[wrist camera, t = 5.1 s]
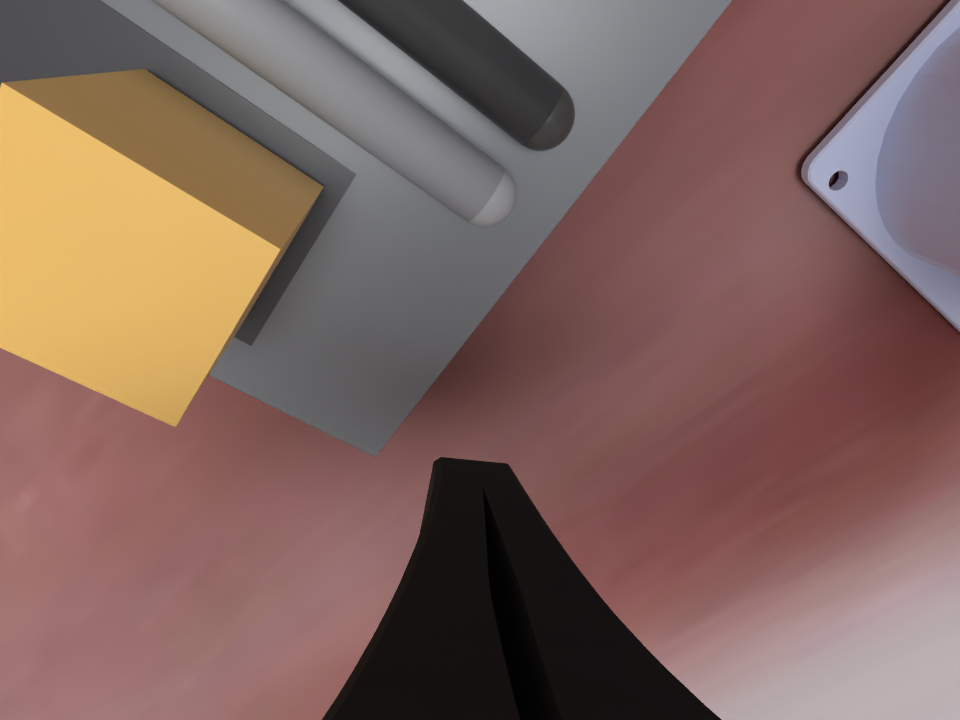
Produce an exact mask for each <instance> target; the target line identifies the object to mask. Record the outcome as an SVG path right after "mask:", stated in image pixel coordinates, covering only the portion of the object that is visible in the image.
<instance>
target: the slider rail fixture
mask: <svg viewBox="0 0 960 720" xmlns="http://www.w3.org/2000/svg"><path fill="white" fill-rule="evenodd" d="M731 1H732V0H0V87H1V84H2V82H13V81H23V80H34V79H45V78H55V77H66V76H76V75H87V74H97V73H108V72H119V71H129V70H140V69H146V70H147V71H149V72H150V73H152V74H153V75H155V76H156V77H158V78H159V79H161V80H162V81H164V82H165V83H167V84H168V85H170V86H171V87H173V88H174V89H176V90H178V91H179V92H181V93H182V94H184V95H185V96H187V97H188V98H190V99H191V100H193V101H194V102H196V103H197V104H199V105H200V106H202V107H203V108H205V109H206V110H208V111H210V112H211V113H213V114H214V115H216V116H217V117H219V118H220V119H222V120H223V121H225V122H226V123H228V124H229V125H231V126H232V127H234V128H235V129H237V130H238V131H240V132H241V133H243V134H245V135H246V136H248V137H249V138H251V139H252V140H254V141H255V142H257V143H258V144H260V145H261V146H263V147H264V148H266V149H267V150H269V151H270V152H272V153H273V154H275V155H276V156H278V157H280V158H281V159H283V160H284V161H286V162H287V163H289V164H290V165H292V166H293V167H295V168H296V169H298V170H299V171H301V172H302V173H304V174H305V175H307V176H308V177H310V178H312V179H313V180H315V181H316V182H318V183H319V184H321V185H322V186H324V188H323V189H322V191H321V193H320V195H319V196H318V198H317V200H316V201H315V203H314V205H313V206H312V208H311V210H310V211H309V213H308V215H307V216H306V218H305V220H304V221H303V223H302V225H301V226H300V228H299V230H298V231H297V233H296V235H295V236H294V238H293V240H292V242H291V243H290V245H289V247H288V248H287V250H286V252H285V253H284V255H283V257H282V258H281V260H280V262H279V263H278V265H277V267H276V268H275V270H274V272H273V273H272V275H271V277H270V278H269V280H268V282H267V283H266V285H265V287H264V288H263V290H262V292H261V294H260V295H259V297H258V299H257V300H256V302H255V304H254V305H253V307H252V309H251V310H250V312H249V314H248V315H247V317H246V319H245V320H244V322H243V324H242V325H241V327H240V328H239V330H238V331H237V333H236V334H235V336H234V338H233V339H232V341H231V342H230V344H229V345H228V347H227V348H226V350H225V351H224V353H223V355H222V356H221V358H220V359H219V361H218V362H217V364H216V365H215V367H214V368H213V370H212V372H211V373H210V376H212V377H214V378H216V379H218V380H220V381H222V382H224V383H226V384H228V385H230V386H232V387H234V388H236V389H238V390H240V391H242V392H244V393H246V394H248V395H250V396H252V397H254V398H256V399H258V400H260V401H262V402H264V403H266V404H268V405H270V406H272V407H274V408H276V409H278V410H280V411H282V412H284V413H286V414H288V415H290V416H293V417H295V418H297V419H299V420H301V421H303V422H305V423H307V424H309V425H311V426H313V427H315V428H317V429H319V430H321V431H323V432H325V433H327V434H329V435H331V436H333V437H335V438H337V439H339V440H341V441H343V442H345V443H347V444H349V445H351V446H353V447H355V448H357V449H359V450H361V451H363V452H365V453H367V454H369V455H371V456H373V457H376V455H377V454H378V453H379V452H380V450H381V449H382V448H383V446H384V445H385V444H386V443H387V441H388V440H389V439H390V438H391V436H392V435H393V434H394V432H395V431H396V430H397V429H398V427H399V426H400V425H401V423H402V422H403V421H404V420H405V418H406V417H407V416H408V414H409V413H410V412H411V411H412V409H413V408H414V407H415V406H416V404H417V403H418V402H419V400H420V399H421V398H422V397H423V395H424V394H425V393H426V391H427V390H428V389H429V388H430V386H431V385H432V384H433V382H434V381H435V380H436V379H437V377H438V376H439V375H440V374H441V372H442V371H443V370H444V368H445V367H446V366H447V365H448V363H449V362H450V361H451V359H452V358H453V357H454V356H455V354H456V353H457V352H458V350H459V349H460V348H461V347H462V345H463V344H464V343H465V342H466V340H467V339H468V338H469V336H470V335H471V334H472V333H473V331H474V330H475V329H476V327H477V326H478V325H479V324H480V322H481V321H482V320H483V318H484V317H485V316H486V315H487V313H488V312H489V311H490V310H491V308H492V307H493V306H494V304H495V303H496V302H497V301H498V299H499V298H500V297H501V295H502V294H503V293H504V292H505V290H506V289H507V288H508V286H509V285H510V284H511V283H512V281H513V280H514V279H515V278H516V276H517V275H518V274H519V272H520V271H521V270H522V269H523V267H524V266H525V265H526V263H527V262H528V261H529V260H530V258H531V257H532V256H533V254H534V253H535V252H536V251H537V249H538V248H539V247H540V246H541V244H542V243H543V242H544V240H545V239H546V238H547V237H548V235H549V234H550V233H551V231H552V230H553V229H554V228H555V226H556V225H557V224H558V222H559V221H560V220H561V219H562V217H563V216H564V215H565V214H566V212H567V211H568V210H569V208H570V207H571V206H572V205H573V203H574V202H575V201H576V199H577V198H578V197H579V196H580V194H581V193H582V192H583V190H584V189H585V188H586V187H587V185H588V184H589V183H590V182H591V180H592V179H593V178H594V176H595V175H596V174H597V173H598V171H599V170H600V169H601V167H602V166H603V165H604V164H605V162H606V161H607V160H608V158H609V157H610V156H611V155H612V153H613V152H614V151H615V150H616V148H617V147H618V146H619V144H620V143H621V142H622V141H623V139H624V138H625V137H626V135H627V134H628V133H629V132H630V130H631V129H632V128H633V127H634V125H635V124H636V123H637V121H638V120H639V119H640V118H641V116H642V115H643V114H644V112H645V111H646V110H647V109H648V107H649V106H650V105H651V103H652V102H653V101H654V100H655V98H656V97H657V96H658V95H659V93H660V92H661V91H662V89H663V88H664V87H665V86H666V84H667V83H668V82H669V80H670V79H671V78H672V77H673V75H674V74H675V73H676V71H677V70H678V69H679V68H680V66H681V65H682V64H683V63H684V61H685V60H686V59H687V57H688V56H689V55H690V54H691V52H692V51H693V50H694V48H695V47H696V46H697V45H698V43H699V42H700V41H701V39H702V38H703V37H704V36H705V34H706V33H707V32H708V31H709V29H710V28H711V27H712V25H713V24H714V23H715V22H716V20H717V19H718V18H719V16H720V15H721V14H722V13H723V11H724V10H725V9H726V7H727V6H728V5H729V4H730V2H731Z"/></svg>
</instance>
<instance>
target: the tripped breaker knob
mask: <svg viewBox="0 0 960 720" xmlns="http://www.w3.org/2000/svg"><path fill="white" fill-rule="evenodd" d="M323 188H324V186H322V185H321V184H319V183H318V182H316V181H315V180H313V179H312V178H310V177H308V176H307V175H305V174H304V173H302V172H301V171H299V170H298V169H296V168H295V167H293V166H292V165H290V164H289V163H287V162H286V161H284V160H283V159H281V158H280V157H278V156H276V155H275V154H273V153H272V152H270V151H269V150H267V149H266V148H264V147H263V146H261V145H260V144H258V143H257V142H255V141H254V140H252V139H251V138H249V137H248V136H246V135H245V134H243V133H241V132H240V131H238V130H237V129H235V128H234V127H232V126H231V125H229V124H228V123H226V122H225V121H223V120H222V119H220V118H219V117H217V116H216V115H214V114H213V113H211V112H210V111H208V110H206V109H205V108H203V107H202V106H200V105H199V104H197V103H196V102H194V101H193V100H191V99H190V98H188V97H187V96H185V95H184V94H182V93H181V92H179V91H178V90H176V89H174V88H173V87H171V86H170V85H168V84H167V83H165V82H164V81H162V80H161V79H159V78H158V77H156V76H155V75H153V74H152V73H150V72H149V71H147V70H146V69H140V70H129V71H119V72H108V73H97V74H87V75H76V76H66V77H55V78H45V79H34V80H23V81H13V82H2V84H1V87H0V348H2V349H4V350H7V351H9V352H11V353H13V354H15V355H18V356H20V357H22V358H24V359H26V360H29V361H31V362H33V363H35V364H37V365H40V366H42V367H44V368H46V369H48V370H51V371H53V372H55V373H57V374H59V375H62V376H64V377H66V378H68V379H70V380H73V381H75V382H77V383H79V384H81V385H84V386H86V387H88V388H90V389H92V390H95V391H97V392H99V393H101V394H103V395H106V396H108V397H110V398H112V399H114V400H117V401H119V402H121V403H123V404H125V405H128V406H130V407H132V408H134V409H136V410H139V411H141V412H143V413H145V414H148V415H150V416H152V417H154V418H156V419H159V420H161V421H163V422H165V423H167V424H170V425H172V426H174V427H176V426H177V424H178V423H179V421H180V420H181V418H182V416H183V415H184V413H185V412H186V410H187V409H188V407H189V406H190V404H191V403H192V401H193V399H194V398H195V396H196V395H197V393H198V392H199V390H200V389H201V387H202V386H203V384H204V382H205V381H206V379H207V378H208V376H209V375H210V373H211V372H212V370H213V368H214V367H215V365H216V364H217V362H218V361H219V359H220V358H221V356H222V355H223V353H224V351H225V350H226V348H227V347H228V345H229V344H230V342H231V341H232V339H233V338H234V336H235V334H236V333H237V331H238V330H239V328H240V327H241V325H242V324H243V322H244V320H245V319H246V317H247V315H248V314H249V312H250V310H251V309H252V307H253V305H254V304H255V302H256V300H257V299H258V297H259V295H260V294H261V292H262V290H263V288H264V287H265V285H266V283H267V282H268V280H269V278H270V277H271V275H272V273H273V272H274V270H275V268H276V267H277V265H278V263H279V262H280V260H281V258H282V257H283V255H284V253H285V252H286V250H287V248H288V247H289V245H290V243H291V242H292V240H293V238H294V236H295V235H296V233H297V231H298V230H299V228H300V226H301V225H302V223H303V221H304V220H305V218H306V216H307V215H308V213H309V211H310V210H311V208H312V206H313V205H314V203H315V201H316V200H317V198H318V196H319V195H320V193H321V191H322V189H323Z"/></svg>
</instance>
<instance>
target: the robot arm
mask: <svg viewBox="0 0 960 720" xmlns="http://www.w3.org/2000/svg"><path fill="white" fill-rule="evenodd" d="M837 171H838V172H839V177H838V180H837V182H836V183H835V184H834V185H832V186H831V187H829V179H830V178H831V176H832V175H833V174H834V173H836V172H837ZM801 175H802V179H803V180H804V182H805V183H806V184H807V185H808V186H809V187H810V188H811V189H812V190H813V191H814V192H815V193H816V194H817V195H818V196H819V197H820V198H821V199H822V200H823V201H824V202H826V203H827V204H828V205H829V206H830V207H831V208H832V209H833V210H834V211H835V212H836V213H837V214H838V215H839V216H840V217H841V218H842V219H843V220H844V221H845V222H846V223H847V224H848V225H849V226H850V227H851V228H852V229H853V230H855V231H856V232H857V233H858V234H859V235H860V236H861V237H862V238H863V239H864V240H865V241H866V242H867V243H868V244H869V245H870V246H871V247H872V248H873V249H874V250H875V251H876V252H877V253H878V254H879V255H880V256H881V257H882V258H884V259H885V260H886V261H887V262H888V263H889V264H890V265H891V266H892V267H893V268H894V269H895V270H896V271H897V272H898V273H899V274H900V275H901V276H902V277H903V278H904V279H905V280H906V281H907V282H908V283H909V284H910V285H912V286H913V287H914V288H915V289H916V290H917V291H918V292H919V293H920V294H921V295H922V296H923V297H924V298H925V299H926V300H927V301H928V302H929V303H930V304H931V305H932V306H933V307H934V308H935V309H936V310H937V311H938V312H939V313H941V314H942V315H943V316H944V317H945V318H946V319H947V320H948V321H949V322H950V323H951V324H952V325H953V326H954V327H955V328H956V329H957V330H958V331H959V332H960V0H951V1H950V2H949V3H948V4H947V5H946V6H945V7H944V8H943V9H942V11H941V12H940V13H939V14H938V15H937V16H936V17H935V18H934V19H933V20H932V21H931V23H930V24H929V25H928V26H927V27H926V28H925V29H924V30H923V31H922V32H921V33H920V35H919V36H918V37H917V38H916V39H915V40H914V41H913V42H912V43H911V44H910V45H909V47H908V48H907V49H906V50H905V51H904V52H903V53H902V54H901V55H900V56H899V57H898V59H897V60H896V61H895V62H894V63H893V64H892V65H891V66H890V67H889V68H888V69H887V71H886V72H885V73H884V74H883V75H882V76H881V77H880V78H879V79H878V80H877V81H876V82H875V84H874V85H873V86H872V87H871V88H870V89H869V90H868V91H867V92H866V93H865V94H864V96H863V97H862V98H861V99H860V100H859V101H858V102H857V103H856V104H855V105H854V106H853V108H852V109H851V110H850V111H849V112H848V113H847V114H846V115H845V116H844V117H843V118H842V120H841V121H840V122H839V123H838V124H837V125H836V126H835V127H834V128H833V129H832V130H831V132H830V133H829V134H828V135H827V136H826V137H825V138H824V139H823V140H822V141H821V142H820V143H819V145H818V146H817V147H816V148H815V149H814V150H813V151H812V152H811V153H810V154H809V155H808V157H807V158H806V160H805V161H804V163H803V166H802V169H801ZM322 720H721V719H720V718H719V717H718V716H717V715H715V714H714V713H713V712H712V711H711V710H710V709H709V708H707V707H706V706H705V705H704V704H703V703H702V702H701V701H700V700H699V699H698V698H697V697H696V696H695V695H694V694H693V693H691V692H690V691H689V690H688V689H687V688H686V687H685V686H684V685H683V684H682V683H681V682H680V681H679V680H678V679H677V678H676V677H675V676H673V675H672V674H671V673H670V672H669V671H668V670H667V669H666V668H665V667H664V666H663V665H662V664H661V663H660V662H659V661H658V660H657V659H656V658H655V657H654V656H653V655H652V654H651V653H650V652H649V651H648V650H647V649H646V647H645V646H644V645H643V644H642V643H641V642H640V641H639V640H638V639H637V638H636V637H635V636H634V634H633V633H632V632H631V631H630V630H629V629H628V628H627V627H626V626H625V625H624V624H623V623H622V621H621V620H620V619H619V618H618V617H617V616H616V615H615V614H614V612H613V611H612V610H611V609H610V608H609V607H608V605H607V604H606V603H605V602H604V601H603V599H602V598H601V597H600V596H599V594H598V593H597V592H596V591H595V589H594V588H593V587H592V586H591V584H590V583H589V582H588V581H587V579H586V578H585V577H584V575H583V574H582V573H581V571H580V570H579V569H578V567H577V566H576V565H575V563H574V562H573V561H572V559H571V558H570V557H569V555H568V554H567V552H566V551H565V550H564V548H563V547H562V545H561V544H560V543H559V541H558V540H557V538H556V537H555V536H554V534H553V533H552V531H551V530H550V528H549V527H548V525H547V524H546V522H545V521H544V519H543V518H542V516H541V515H540V513H539V512H538V510H537V509H536V507H535V506H534V504H533V503H532V501H531V499H530V498H529V496H528V495H527V493H526V491H525V490H524V488H523V487H522V485H521V483H520V482H519V480H518V479H517V477H516V475H515V474H514V472H513V471H512V469H511V468H510V466H509V465H508V464H505V463H495V462H485V461H475V460H464V459H454V458H444V457H441V458H439V459H437V460H436V461H434V463H433V468H432V473H431V479H430V484H429V489H428V494H427V499H426V505H425V510H424V515H423V520H422V525H421V530H420V535H419V538H418V541H417V544H416V546H415V549H414V551H413V553H412V556H411V558H410V560H409V563H408V565H407V568H406V570H405V572H404V575H403V577H402V579H401V582H400V584H399V586H398V588H397V590H396V592H395V594H394V596H393V599H392V601H391V603H390V605H389V607H388V609H387V611H386V613H385V614H384V616H383V618H382V620H381V622H380V624H379V626H378V628H377V630H376V632H375V633H374V635H373V637H372V639H371V641H370V642H369V644H368V646H367V648H366V649H365V651H364V653H363V655H362V656H361V658H360V660H359V662H358V663H357V665H356V667H355V669H354V670H353V672H352V674H351V675H350V677H349V678H348V680H347V682H346V683H345V685H344V687H343V688H342V690H341V691H340V693H339V695H338V696H337V698H336V699H335V701H334V702H333V704H332V705H331V707H330V708H329V710H328V711H327V713H326V714H325V716H324V717H323V719H322Z"/></svg>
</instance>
